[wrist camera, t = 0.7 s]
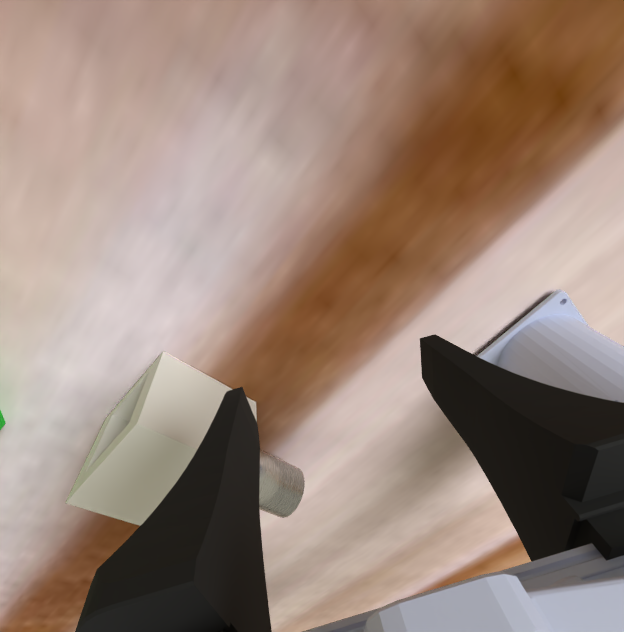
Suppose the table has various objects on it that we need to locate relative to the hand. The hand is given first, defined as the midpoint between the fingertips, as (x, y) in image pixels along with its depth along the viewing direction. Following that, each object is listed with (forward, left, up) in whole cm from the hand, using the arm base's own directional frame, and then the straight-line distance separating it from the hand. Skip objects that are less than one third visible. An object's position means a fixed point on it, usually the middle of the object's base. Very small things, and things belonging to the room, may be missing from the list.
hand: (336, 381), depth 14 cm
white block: (0, +13, -9) cm, 16 cm away
